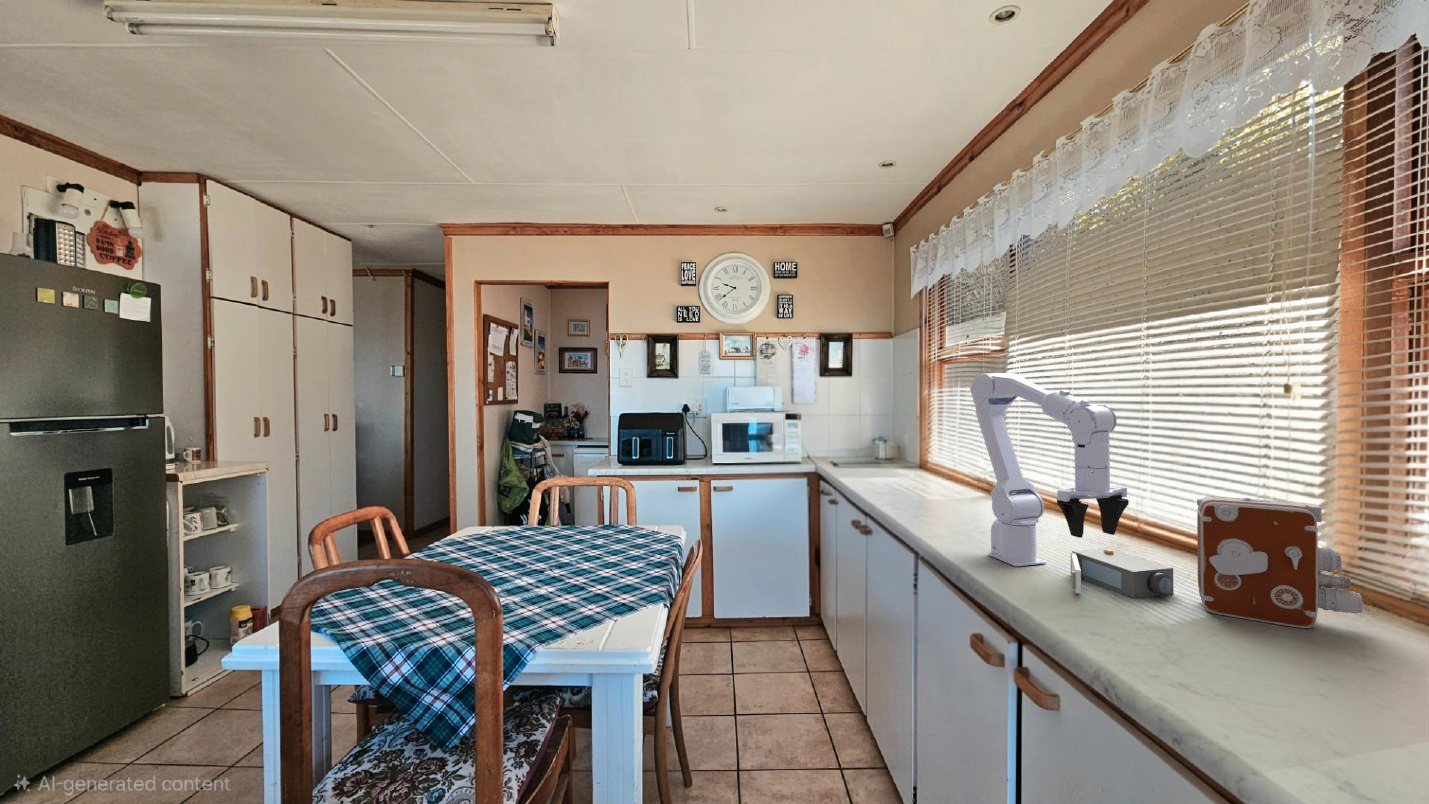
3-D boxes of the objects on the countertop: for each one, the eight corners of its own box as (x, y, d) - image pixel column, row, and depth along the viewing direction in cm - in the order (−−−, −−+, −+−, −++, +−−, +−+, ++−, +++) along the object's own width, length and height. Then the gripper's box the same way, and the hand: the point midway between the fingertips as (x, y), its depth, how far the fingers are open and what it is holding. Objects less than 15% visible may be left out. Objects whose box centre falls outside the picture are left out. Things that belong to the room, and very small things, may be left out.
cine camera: (1371, 643, 84) (1370, 512, 84) (1201, 615, 96) (1200, 499, 95) (1351, 622, 91) (1351, 502, 91) (1196, 598, 103) (1195, 491, 103)
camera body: (1072, 574, 117) (1071, 548, 117) (1108, 571, 119) (1108, 545, 119) (1142, 602, 102) (1142, 571, 102) (1183, 597, 103) (1183, 567, 103)
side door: (1068, 573, 117) (1067, 552, 117) (1076, 574, 117) (1075, 552, 116) (1072, 592, 106) (1072, 569, 106) (1081, 594, 106) (1080, 570, 106)
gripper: (1078, 471, 104) (1079, 543, 104) (1141, 467, 107) (1142, 537, 107) (1048, 466, 111) (1049, 533, 111) (1108, 463, 114) (1109, 528, 114)
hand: (1092, 535), depth 110 cm, fingers open, 7 cm apart
